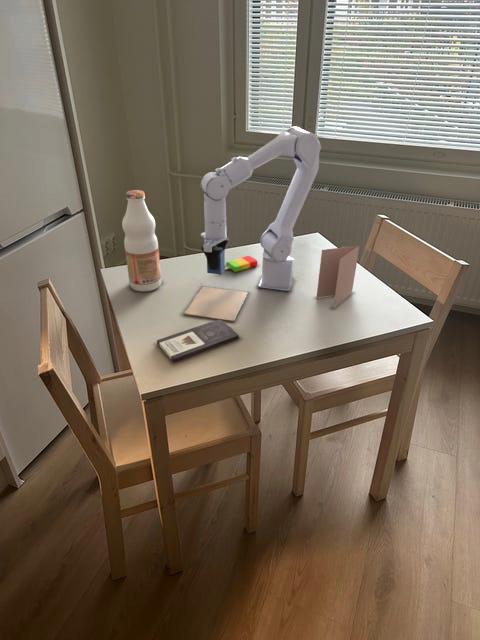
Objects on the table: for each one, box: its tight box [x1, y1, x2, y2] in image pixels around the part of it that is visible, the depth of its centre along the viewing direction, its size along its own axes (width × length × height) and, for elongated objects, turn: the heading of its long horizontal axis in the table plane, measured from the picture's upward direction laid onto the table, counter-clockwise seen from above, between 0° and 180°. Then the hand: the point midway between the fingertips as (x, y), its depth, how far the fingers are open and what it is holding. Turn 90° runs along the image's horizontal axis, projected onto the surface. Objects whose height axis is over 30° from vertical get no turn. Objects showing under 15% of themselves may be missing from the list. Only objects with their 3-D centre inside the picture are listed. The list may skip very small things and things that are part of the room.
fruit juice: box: [121, 189, 162, 292], centre depth 130 cm, size 9×9×28 cm
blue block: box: [206, 249, 226, 276], centre depth 128 cm, size 4×4×6 cm
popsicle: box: [224, 255, 258, 273], centre depth 147 cm, size 6×15×2 cm, turn 124°
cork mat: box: [183, 286, 249, 322], centre depth 128 cm, size 14×16×1 cm
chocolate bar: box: [156, 319, 240, 363], centre depth 112 cm, size 9×1×18 cm
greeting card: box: [316, 244, 360, 309], centre depth 126 cm, size 11×7×15 cm, turn 107°
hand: (216, 265), depth 129 cm, fingers closed on blue block, 4 cm apart
